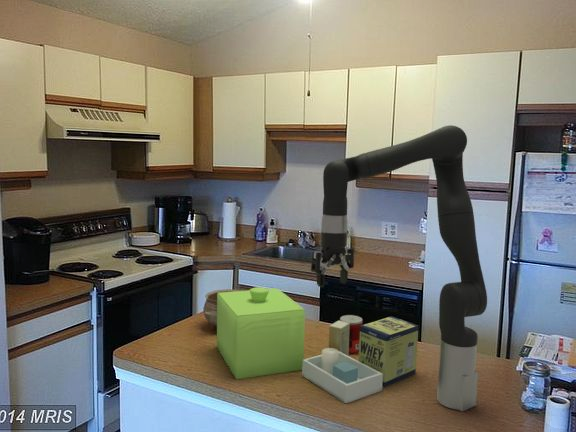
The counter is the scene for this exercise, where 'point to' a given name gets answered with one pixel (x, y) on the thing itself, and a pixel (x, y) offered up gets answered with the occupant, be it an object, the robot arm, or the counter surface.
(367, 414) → the counter surface
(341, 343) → the skincare box
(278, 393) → the counter surface
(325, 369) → the white piece
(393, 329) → the protein box
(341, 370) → the cube
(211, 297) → the cooking pot
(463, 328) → the robot arm
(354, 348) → the canned food
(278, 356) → the canister
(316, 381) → the tote
